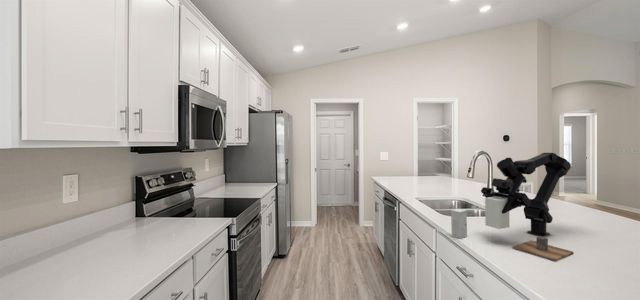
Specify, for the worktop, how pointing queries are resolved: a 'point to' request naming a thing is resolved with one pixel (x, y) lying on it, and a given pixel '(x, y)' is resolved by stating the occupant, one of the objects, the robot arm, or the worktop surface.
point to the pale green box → (496, 213)
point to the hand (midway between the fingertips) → (494, 211)
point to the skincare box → (459, 223)
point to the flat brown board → (543, 249)
